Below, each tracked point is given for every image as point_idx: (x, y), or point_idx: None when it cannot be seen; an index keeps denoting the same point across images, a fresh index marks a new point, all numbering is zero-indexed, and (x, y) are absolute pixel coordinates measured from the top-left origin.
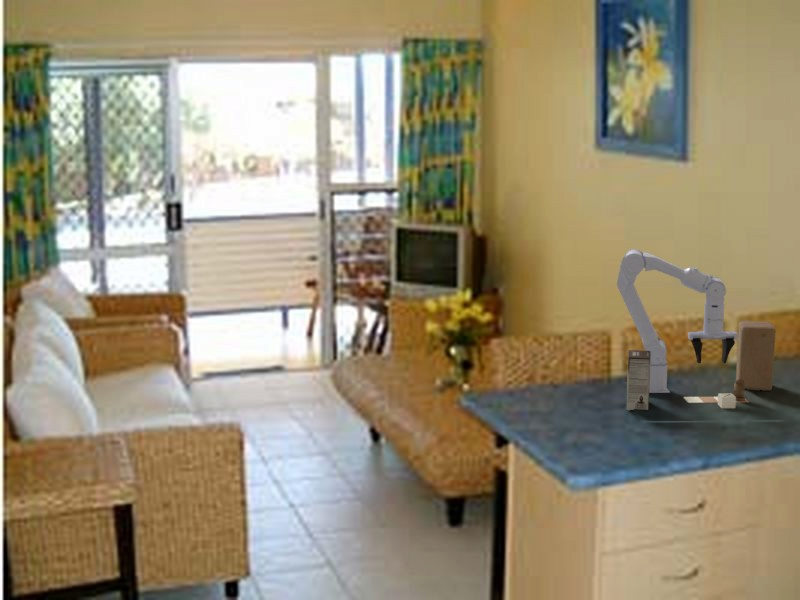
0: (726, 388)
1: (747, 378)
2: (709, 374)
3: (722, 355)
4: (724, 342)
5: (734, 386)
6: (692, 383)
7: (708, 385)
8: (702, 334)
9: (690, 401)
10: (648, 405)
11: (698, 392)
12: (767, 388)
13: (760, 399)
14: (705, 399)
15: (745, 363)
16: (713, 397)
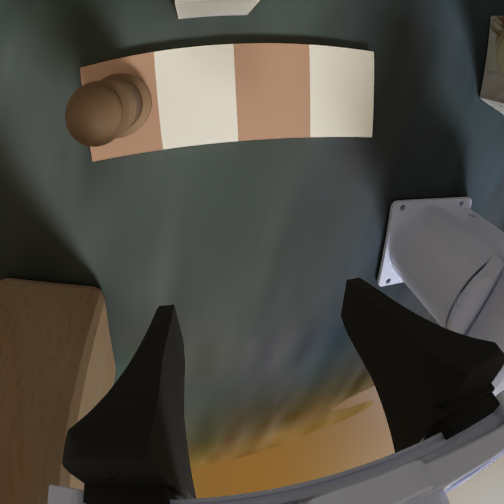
0: (149, 300)
1: (62, 312)
2: (191, 412)
3: (182, 375)
4: (178, 468)
5: (131, 103)
6: (264, 339)
7: (212, 327)
8: (487, 458)
9: (362, 65)
10: (497, 33)
11: (275, 235)
12: (8, 280)
13: (28, 159)
14: (287, 91)
15: (55, 366)
16: (239, 127)
